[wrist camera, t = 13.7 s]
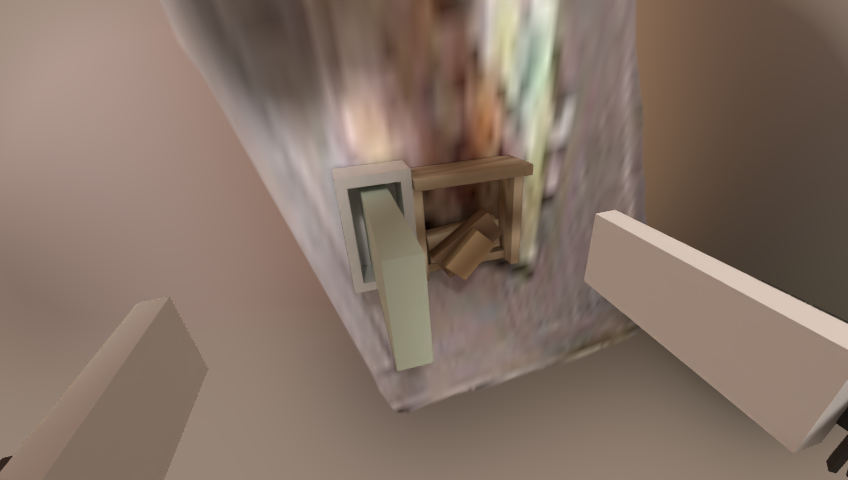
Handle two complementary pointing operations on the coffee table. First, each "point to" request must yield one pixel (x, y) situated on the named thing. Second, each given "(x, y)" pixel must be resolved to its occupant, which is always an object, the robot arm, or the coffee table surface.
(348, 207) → the bin
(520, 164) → the rack
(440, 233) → the offcut birch
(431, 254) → the offcut walnut
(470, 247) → the offcut oak
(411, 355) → the grey-green flat block
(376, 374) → the coffee table surface
